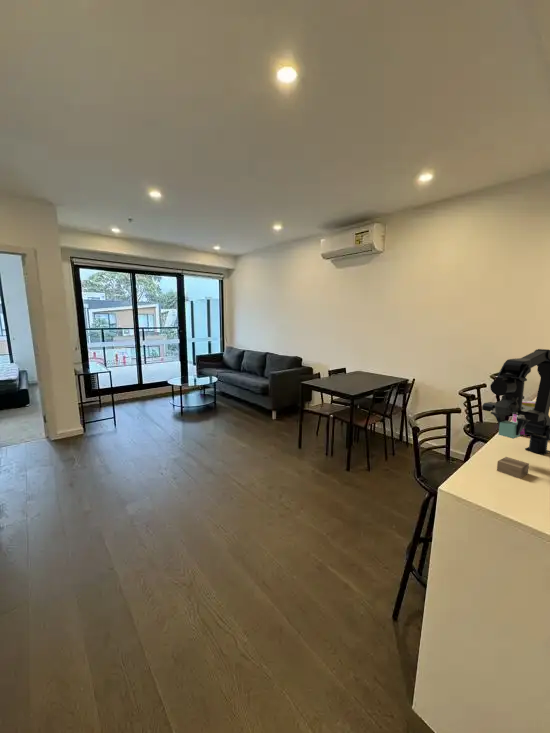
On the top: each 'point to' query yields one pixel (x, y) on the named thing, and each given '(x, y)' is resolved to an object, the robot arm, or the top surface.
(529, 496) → the top surface
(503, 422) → the teal cube
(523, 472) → the walnut block
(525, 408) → the candy bar box
